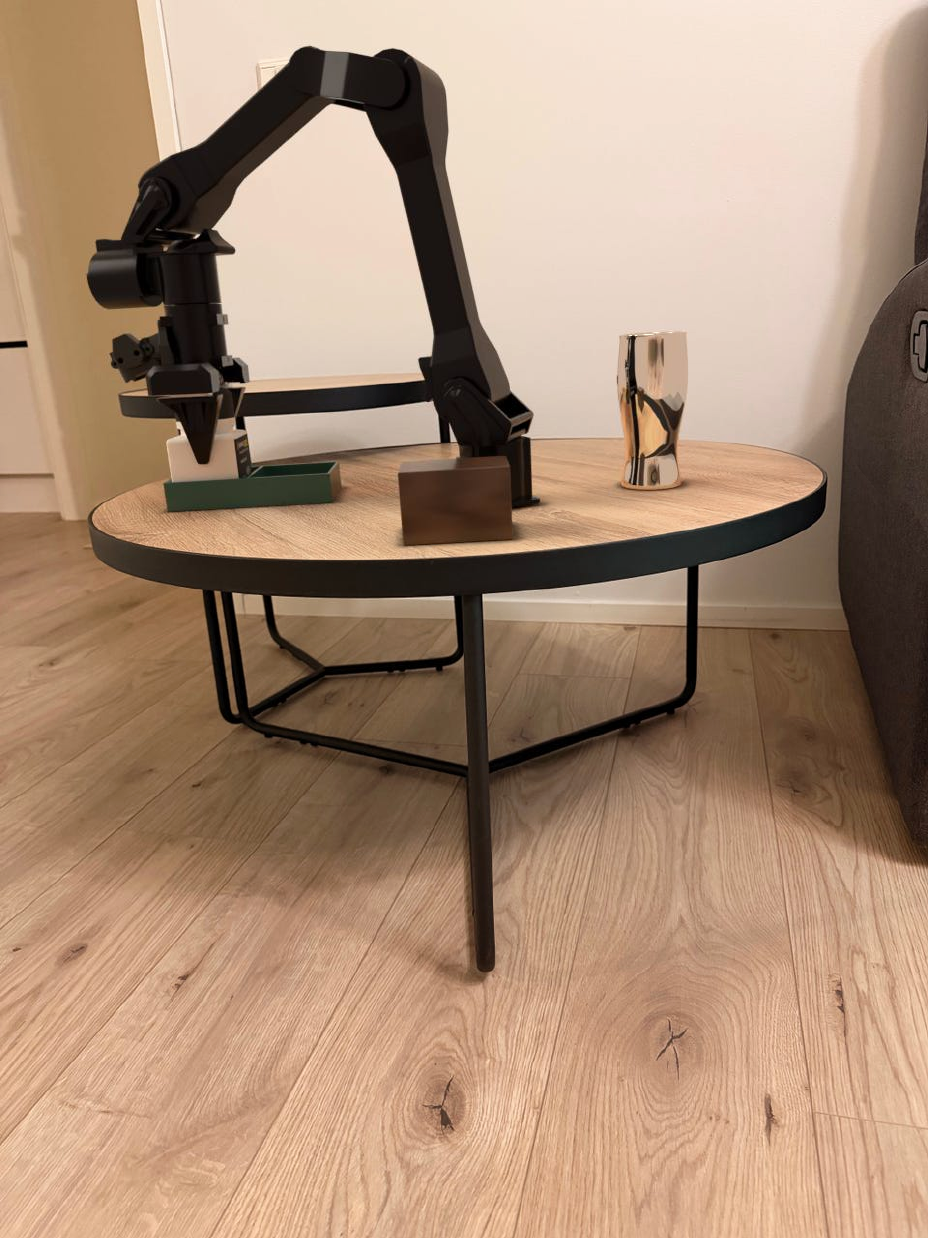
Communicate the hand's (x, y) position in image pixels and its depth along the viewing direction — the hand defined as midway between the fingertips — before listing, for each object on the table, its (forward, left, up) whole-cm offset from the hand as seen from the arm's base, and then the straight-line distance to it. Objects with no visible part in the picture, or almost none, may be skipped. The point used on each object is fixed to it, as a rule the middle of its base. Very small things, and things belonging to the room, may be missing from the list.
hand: (212, 458), depth 98 cm
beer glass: (-41, +21, -5) cm, 47 cm away
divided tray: (-4, +2, -5) cm, 6 cm away
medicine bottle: (0, 0, -5) cm, 5 cm away
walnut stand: (-16, +31, -5) cm, 35 cm away
